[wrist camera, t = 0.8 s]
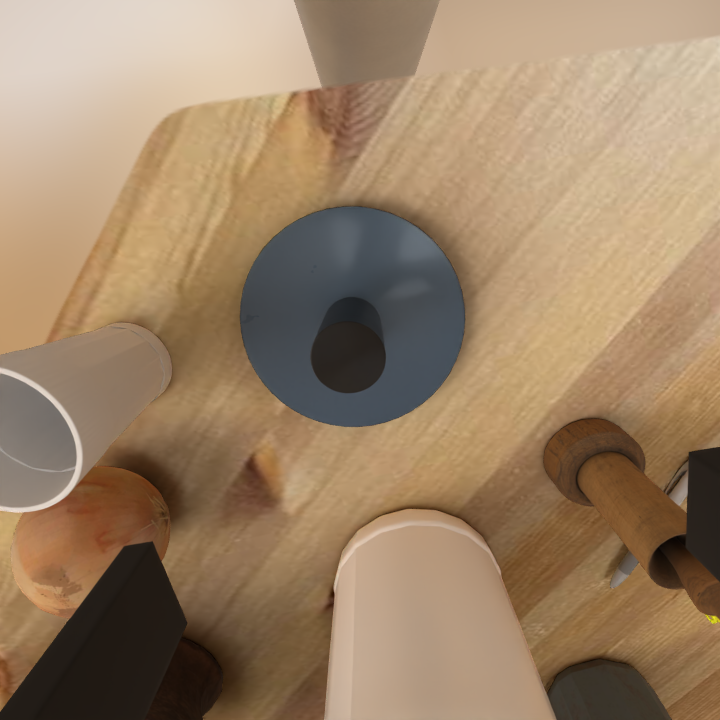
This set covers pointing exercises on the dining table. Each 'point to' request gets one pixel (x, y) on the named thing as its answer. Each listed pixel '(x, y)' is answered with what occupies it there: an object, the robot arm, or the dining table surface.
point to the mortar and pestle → (629, 504)
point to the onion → (85, 537)
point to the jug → (187, 685)
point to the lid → (352, 316)
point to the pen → (678, 497)
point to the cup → (71, 408)
